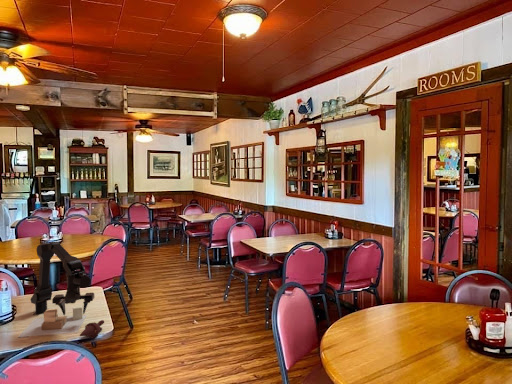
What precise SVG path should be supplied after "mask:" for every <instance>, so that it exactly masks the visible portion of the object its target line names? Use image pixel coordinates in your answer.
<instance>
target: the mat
mask: <svg viewBox="0 0 512 384" xmlns="http://www.w3.org/2000/svg"><path fill="white" fill-rule="evenodd" d="M65 316H66V315H65ZM66 317H67V322H66V323H65V325H64V326H63V328H62V329H55V330H42V323H43V322H44V317H40V318H34V319H33V320H32V321H31V322H30V323H29V324H28V326H27V327H26V328H25V329H24V330H23V331H22V332H21V333H20V334H19V335H18V336H17V338H18V339H21V338H30V337H35V336H38V337H39V336H49V335H62V334H72V333H73V334H77V333H78V332H79V330H80V328H81V327H82V325H83V324H84V321H85V320H86V319H87V317H88V314H85V315H84V314H83V319H76V320H73V315H68V316H66Z"/></svg>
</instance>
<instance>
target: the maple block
mask: <svg viewBox="0 0 512 384" xmlns="http://www.w3.org/2000/svg"><path fill="white" fill-rule="evenodd" d="M58 312H59V309H58V308H47V310H46V311H45V312H44V314H43V318H44V323H48V322H55V321H56V320H57V319H58V317H59V313H58Z"/></svg>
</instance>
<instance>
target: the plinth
mask: <svg viewBox="0 0 512 384" xmlns="http://www.w3.org/2000/svg"><path fill="white" fill-rule="evenodd" d="M66 322H67V317H66V315H62V316H61V315H60V316H58V319H57V320H56V321H55V322H48V323H44V322H43V323H42V330H55V329H62V328H63V326H64V325H65V323H66Z"/></svg>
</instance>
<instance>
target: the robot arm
mask: <svg viewBox="0 0 512 384" xmlns="http://www.w3.org/2000/svg"><path fill="white" fill-rule="evenodd" d="M35 249H36V255H37V257H38V258H39V271H38V284H37V285H36V286H35V288H34V291H33V294H32V296H31V298H30V302H31V304H34V305H35V308H34V309H35V310H34V312H33V313H32V314H33V316H34V315H42V314H43V315H44V312H45V311H46V310H47V309H48V301H51V300H52V301H51V302H52V304H55V306H58V307H59V308H60V310H61V312H62V314H63V315H62V316H66V305H68V304H71V305H72V304H75V303H76V302H77V301H80V300H83V315H84V314H86V311H87V307H88V305H89V303H91V302H93V300H95V296H96V295H95V293H94V292H86V293H85V294H83V295H82V294H81V288H82V289H86V288H88V287H89V286H90V285H91V278H90V277H89V276H88V275H87V273H86V268H85V266H84V265H83V263H82V261H81V260H80V259H79V258H78V257H77V256H73V255H71V254H70V253H69V252H68V251H67V250H66V249H65V248H64V246H62V245H61V242H60V241H50V242H47V243H42V244H41V243H40V244H38V245H37V246H36V248H35ZM54 256H56V258H58V259H59V260H60V261H61V263H62V268H63V269H64V271H65V273H64V275H65V276H66V284H67V285H66V292H65V295H64V293H63V294H61V293H60V294H55V295H54V297H52V295H53V288H52V287H51V286H50V271H51V270H50V269H51V260H52V258H53V257H54Z"/></svg>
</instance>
